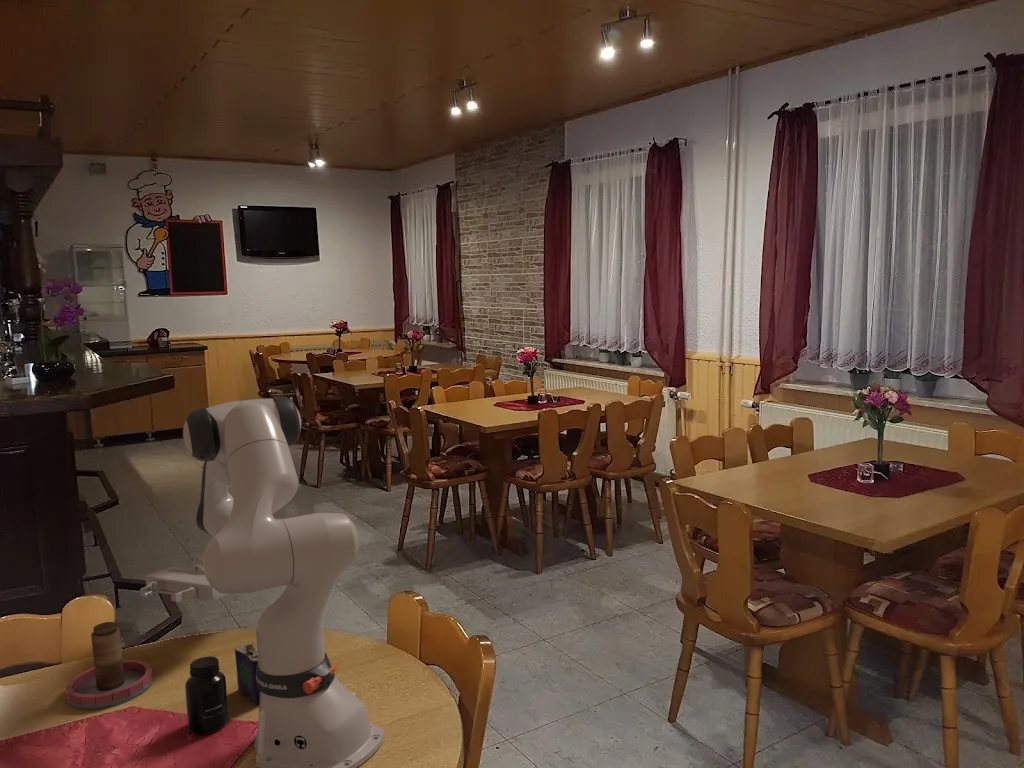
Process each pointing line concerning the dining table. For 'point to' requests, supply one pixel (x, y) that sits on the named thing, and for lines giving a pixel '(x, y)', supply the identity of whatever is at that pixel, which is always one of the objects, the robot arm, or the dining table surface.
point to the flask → (247, 672)
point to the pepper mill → (107, 656)
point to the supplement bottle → (206, 696)
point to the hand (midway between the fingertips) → (157, 596)
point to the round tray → (88, 697)
